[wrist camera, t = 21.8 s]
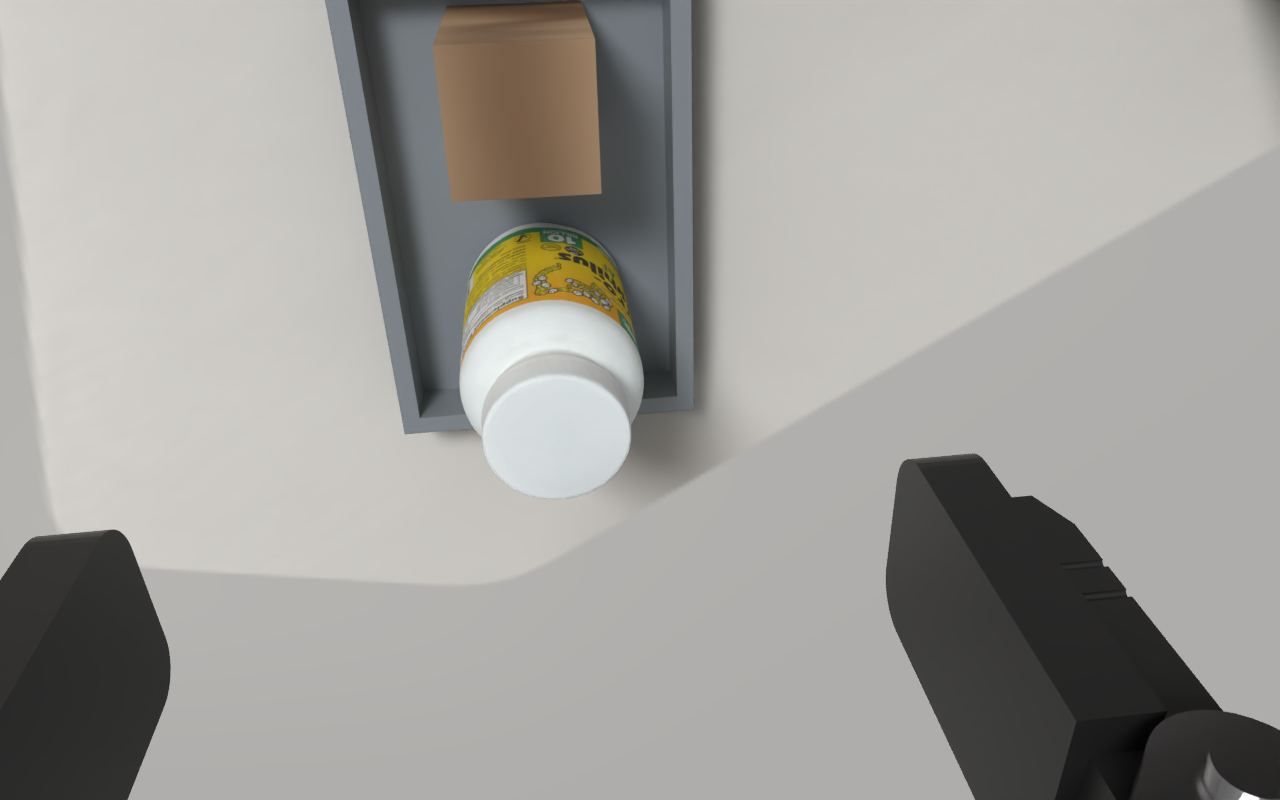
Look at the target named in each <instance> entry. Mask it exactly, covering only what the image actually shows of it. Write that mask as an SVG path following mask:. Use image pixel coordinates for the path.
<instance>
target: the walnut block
mask: <svg viewBox="0 0 1280 800" xmlns="http://www.w3.org/2000/svg"><path fill="white" fill-rule="evenodd" d="M433 53H434V61H435V69H436V77H437V85H438V94H439V102H440V110H441V118H442V126H443V134H444V143H445V151H446V159H447V167H448V175H449V184H450V192H451V200H452V202H465V201H483V200H500V199H518V198H536V197H554V196H572V195H590V194H601V170H600V146H599V122H598V98H597V74H596V50H595V37H594V35H593V32H592V29H591V26H590V24H589V21H588V18H587V15H586V13H585V10H584V7H583V4H582V2H581V1H560V2H534V3H509V4H484V5H458V6H447V7H446V10H445V13H444V16H443V18H442V21H441V24H440V27H439V29H438V32H437V35H436V38H435V40H434V43H433Z"/></svg>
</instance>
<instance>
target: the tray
mask: <svg viewBox="0 0 1280 800" xmlns="http://www.w3.org/2000/svg"><path fill="white" fill-rule="evenodd" d="M560 1H581V2H582V4H583V7H584V10H585V13H586V15H587V18H588V21H589V24H590V26H591V29H592V32H593V35H594V37H595V50H596V74H597V98H598V122H599V146H600V170H601V194H590V195H572V196H554V197H536V198H518V199H500V200H483V201H465V202H452V200H451V192H450V184H449V175H448V167H447V159H446V151H445V143H444V134H443V126H442V118H441V110H440V102H439V94H438V85H437V77H436V69H435V61H434V53H433V43H434V40H435V38H436V35H437V32H438V29H439V27H440V24H441V21H442V18H443V16H444V13H445V10H446V7H447V6H458V5H484V4H509V3H534V2H560ZM325 2H326V8H327V13H328V19H329V24H330V30H331V35H332V40H333V46H334V51H335V57H336V62H337V68H338V73H339V79H340V84H341V89H342V95H343V100H344V106H345V111H346V117H347V122H348V127H349V133H350V138H351V144H352V149H353V155H354V160H355V166H356V171H357V176H358V182H359V187H360V193H361V198H362V204H363V209H364V214H365V220H366V225H367V231H368V236H369V242H370V247H371V253H372V258H373V263H374V269H375V274H376V280H377V285H378V291H379V296H380V301H381V307H382V312H383V318H384V323H385V329H386V334H387V340H388V345H389V350H390V356H391V361H392V367H393V372H394V378H395V383H396V389H397V394H398V399H399V405H400V410H401V416H402V421H403V427H404V432H405V434H414V433H426V432H437V431H449V430H461V429H472V428H473V426H472V425H471V423H470V421H469V419H468V417H467V415H466V413H465V411H464V408H463V404H462V401H461V395H460V384H459V383H460V361H461V352H462V338H463V325H464V315H465V303H466V293H467V285H468V280H469V276H470V273H471V270H472V268H473V266H474V264H475V262H476V260H477V259H478V257H479V255H480V254H481V252H482V251H483V250H484V249H485V248H486V247H487V246H488V245H489V244H490V243H491V242H492V241H493V240H494V239H496V238H497V237H498V236H500V235H501V234H503V233H505V232H506V231H508V230H510V229H512V228H515V227H518V226H521V225H525V224H532V223H551V224H558V225H562V226H566V227H571V228H575V229H578V230H580V231H582V232H584V233H586V234H588V235H590V236H591V237H592V238H594V239H595V240H596V241H597V242H598V243H600V244H601V245H602V246H603V247H604V248H605V250H606V251H607V252H608V253H609V255H610V256H611V257H612V259H613V260H614V262H615V264H616V266H617V268H618V271H619V273H620V277H621V281H622V285H623V289H624V292H625V296H626V301H627V305H628V310H629V314H630V317H631V322H632V326H633V330H634V334H635V338H636V342H637V346H638V350H639V354H640V358H641V362H642V367H643V375H644V389H643V396H642V401H641V404H640V407H639V410H638V412H637V414H647V413H659V412H671V411H682V410H694V354H693V201H692V49H691V0H325Z"/></svg>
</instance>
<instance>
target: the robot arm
mask: <svg viewBox="0 0 1280 800" xmlns="http://www.w3.org/2000/svg"><path fill="white" fill-rule="evenodd" d="M886 591H887V599H888V605H889V610H890V614H891V618H892V621H893V624H894V627H895V629H896V632H897V634H898V636H899V638H900V640H901V642H902V644H903V647H904V649H905V651H906V653H907V655H908V657H909V659H910V662H911V664H912V666H913V668H914V670H915V672H916V674H917V677H918V679H919V681H920V683H921V685H922V687H923V689H924V691H925V694H926V696H927V698H928V700H929V702H930V704H931V706H932V708H933V711H934V713H935V715H936V717H937V719H938V721H939V723H940V725H941V727H942V729H943V732H944V734H945V736H946V738H947V740H948V743H949V745H950V747H951V749H952V751H953V753H954V755H955V757H956V760H957V762H958V764H959V766H960V768H961V770H962V772H963V775H964V777H965V779H966V781H967V783H968V785H969V787H970V789H971V791H972V794H973V796H974V798H975V800H1280V730H1278V729H1276V728H1274V727H1272V726H1270V725H1268V724H1266V723H1263V722H1260V721H1258V720H1255V719H1253V718H1249V717H1246V716H1242V715H1239V714H1235V713H1229V712H1224V711H1223V710H1222V709H1221V708H1220V707H1219V706H1218V704H1217V703H1216V702H1215V701H1214V699H1213V698H1212V697H1211V696H1210V694H1209V693H1208V692H1207V690H1206V689H1205V688H1204V687H1203V685H1202V684H1201V683H1200V682H1199V680H1198V679H1197V678H1196V677H1195V675H1194V674H1193V673H1192V671H1191V670H1190V669H1189V668H1188V667H1187V665H1186V664H1185V663H1184V661H1183V660H1182V659H1181V658H1180V656H1179V655H1178V654H1177V653H1176V651H1175V650H1174V649H1173V648H1172V646H1171V645H1170V644H1169V643H1168V641H1167V640H1166V639H1165V637H1164V636H1163V635H1162V634H1161V632H1160V631H1159V630H1158V629H1157V628H1156V626H1155V625H1154V624H1153V622H1152V621H1151V620H1150V619H1149V617H1148V616H1147V615H1146V614H1145V612H1144V611H1143V610H1142V609H1141V607H1140V606H1139V605H1138V603H1137V602H1136V601H1135V600H1134V599H1133V597H1127V595H1126V588H1125V587H1124V586H1123V585H1122V583H1121V582H1120V581H1119V580H1118V578H1117V577H1116V576H1115V574H1114V573H1113V572H1112V571H1111V569H1110V568H1109V567H1104V566H1103V563H1102V558H1101V557H1100V556H1099V554H1098V553H1097V552H1096V550H1095V549H1094V548H1093V547H1092V546H1091V544H1090V543H1089V542H1088V541H1087V539H1086V538H1085V537H1084V535H1083V534H1082V533H1081V532H1080V530H1079V529H1078V528H1077V527H1076V525H1075V524H1073V523H1072V522H1071V521H1069V520H1067V519H1066V518H1065V517H1063V516H1061V515H1060V514H1058V513H1057V512H1055V511H1054V510H1052V509H1051V508H1049V507H1047V506H1046V505H1045V504H1043V503H1042V502H1040V501H1039V500H1037V499H1036V498H1034V497H1033V496H1023V497H1013V498H1011V496H1010V495H1009V493H1008V492H1007V491H1006V489H1005V488H1004V487H1003V485H1002V484H1001V482H1000V481H999V480H998V478H997V477H996V476H995V474H994V473H993V472H992V470H991V469H990V467H989V466H988V465H987V463H986V462H985V461H984V460H983V458H982V457H980V456H979V455H977V454H964V455H952V456H941V457H930V458H919V459H908V460H905V461H904V462H903V463H902V465H901V467H900V469H899V473H898V478H897V485H896V494H895V502H894V510H893V518H892V526H891V535H890V543H889V552H888V559H887V567H886ZM169 684H170V656H169V649H168V644H167V641H166V638H165V635H164V632H163V630H162V627H161V625H160V622H159V619H158V616H157V614H156V611H155V609H154V606H153V603H152V601H151V598H150V595H149V593H148V590H147V587H146V585H145V582H144V580H143V577H142V574H141V572H140V569H139V566H138V564H137V561H136V558H135V556H134V553H133V550H132V548H131V546H130V543H129V542H128V540H127V538H126V537H125V536H124V535H123V534H122V533H121V532H119V531H118V530H104V531H93V532H82V533H71V534H60V535H50V536H39V537H34V538H32V539H30V540H29V541H28V542H27V543H26V544H25V545H24V546H23V548H22V549H21V550H20V552H19V553H18V555H17V556H16V558H15V559H14V561H13V562H12V564H11V565H10V567H9V568H8V570H7V571H6V573H5V574H4V576H3V577H2V579H1V580H0V800H127V799H128V797H129V794H130V792H131V789H132V787H133V784H134V782H135V779H136V777H137V774H138V771H139V769H140V766H141V764H142V761H143V759H144V756H145V754H146V751H147V749H148V746H149V744H150V741H151V739H152V736H153V733H154V731H155V729H156V726H157V724H158V721H159V718H160V716H161V713H162V711H163V708H164V706H165V702H166V699H167V696H168V690H169Z"/></svg>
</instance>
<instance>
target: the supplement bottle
mask: <svg viewBox="0 0 1280 800" xmlns="http://www.w3.org/2000/svg"><path fill="white" fill-rule="evenodd" d="M459 384H460V395H461V401H462V404H463V408H464V411H465V413H466V415H467V417H468V419H469V421H470V423H471V425H472V426H473V428H474V429H475V431H476V432H477V433H478V434H479V435H480V436H481V437H482V445H483V451H484V454H485V457H486V459H487V461H488V463H489V465H490V467H491V468H492V470H493V471H494V473H495V474H496V475H497V476H498V477H499V478H500V479H501V480H502V481H503V482H504V483H506V484H507V485H508V486H510V487H511V488H513V489H514V490H516V491H519V492H521V493H523V494H525V495H529V496H532V497H537V498H541V499H568V498H573V497H577V496H581V495H583V494H587V493H589V492H591V491H594V490H595V489H597V488H599V487H600V486H602V485H604V484H605V483H606V482H607V481H609V480H610V479H611V478H612V477H613V476H614V475H615V474H616V473H617V472H618V470H619V469H620V467H621V466H622V464H623V463H624V461H625V459H626V457H627V455H628V452H629V449H630V444H631V424H632V422H633V421H634V419H635V417H636V415H637V412H638V410H639V407H640V404H641V401H642V396H643V389H644V375H643V367H642V362H641V358H640V354H639V350H638V346H637V342H636V338H635V334H634V330H633V326H632V322H631V317H630V314H629V310H628V305H627V301H626V296H625V292H624V289H623V285H622V281H621V277H620V273H619V271H618V268H617V266H616V264H615V262H614V260H613V259H612V257H611V256H610V255H609V253H608V252H607V251H606V250H605V248H604V247H603V246H602V245H601V244H600V243H598V242H597V241H596V240H595V239H594V238H592V237H591V236H590V235H588V234H586V233H584V232H582V231H580V230H578V229H575V228H571V227H566V226H562V225H558V224H551V223H532V224H525V225H521V226H518V227H515V228H512V229H510V230H508V231H506V232H505V233H503V234H501V235H500V236H498V237H497V238H496V239H494V240H493V241H492V242H491V243H490V244H489V245H488V246H487V247H486V248H485V249H484V250H483V251H482V252H481V254H480V255H479V257H478V259H477V260H476V262H475V264H474V266H473V268H472V270H471V273H470V276H469V280H468V285H467V293H466V303H465V315H464V325H463V338H462V352H461V361H460V383H459Z"/></svg>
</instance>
